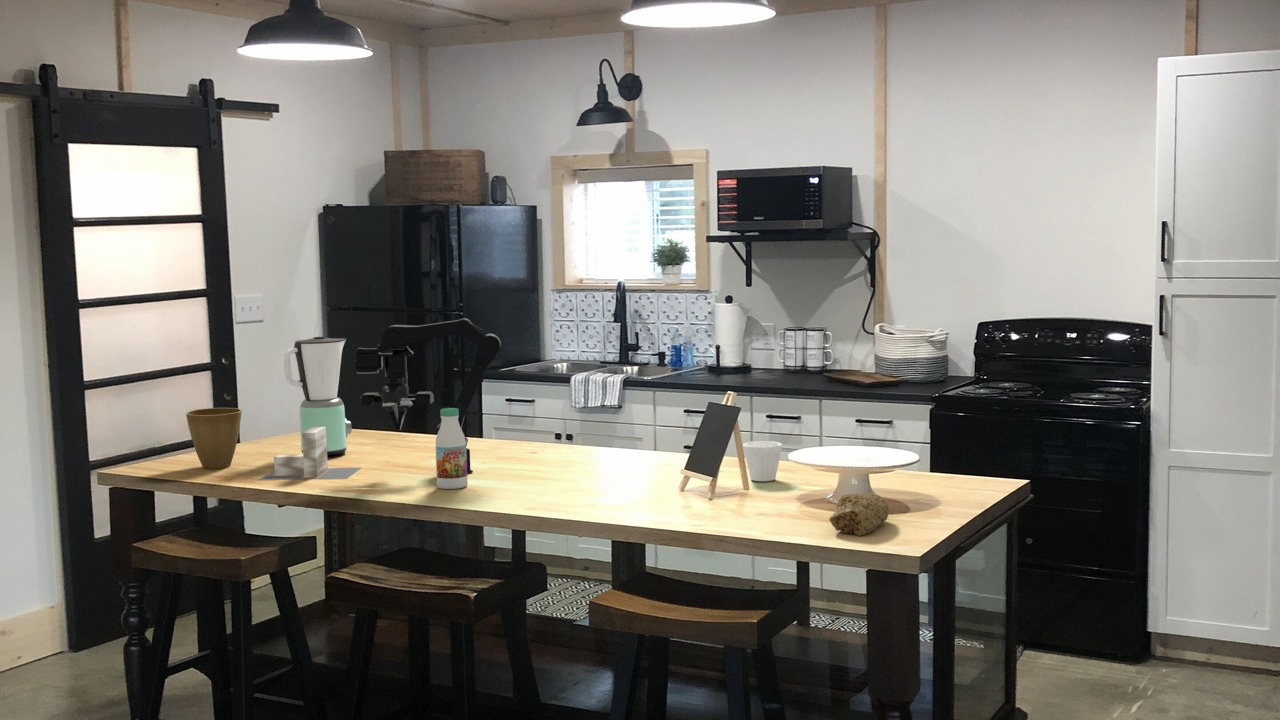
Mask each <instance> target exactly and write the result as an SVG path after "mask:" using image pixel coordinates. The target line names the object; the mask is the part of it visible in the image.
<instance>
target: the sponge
mask: <svg viewBox="0 0 1280 720" xmlns="http://www.w3.org/2000/svg"><path fill="white" fill-rule="evenodd" d="M888 505H889V504H888V502H887V501H886V499H885V498H884V497H882V496H881V495H879V494H875V493H873V492H872V493H871V492H862V493H859V492H858V493H849V494H848V493H847V494H844V495H841V497H840V498H839V500H838V501H837V505H836V511H835V512H834V513H833V514H832V515H831V516H830V517H829V522H830V523H831V525H832V526H833V528H834V529H835V531H840V532H841V533H844V534H854V535H856V536H857V537H858V536H859V537H860V536H865V535H867V534H869V533H870V532H873V531H874V530H876V528H878V526H880V525H881V524H883V522H885V521H887V520H888V517H889V513H890V511H889V510H890V509H889V506H888Z"/></svg>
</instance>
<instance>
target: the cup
mask: <svg viewBox="0 0 1280 720" xmlns="http://www.w3.org/2000/svg"><path fill="white" fill-rule="evenodd" d="M742 449H743V453H744V457H745V460H746V464H747V469H748V472H749V473H748V474H749V478H750V481H752V482H755V483H771V482H774V481H775V480H776V478H777V473H778V468H779V463H780V459H781V454H782V450H783V444H782V442H778V441H774V440H755V441H753V440H752V441H747V442H744V443H743V444H742Z"/></svg>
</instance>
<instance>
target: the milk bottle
mask: <svg viewBox="0 0 1280 720" xmlns="http://www.w3.org/2000/svg"><path fill="white" fill-rule="evenodd" d="M439 410H440V411H439V412H440V418H441V419H440V423H441V426H440V429H439V430H438V431H439V432H438V431H437V433H436V434H437V435H436V438H435V468H436V469H435V470H436V486H437V488H438V489H442V490H458V489H463V488H466V487H467V486H468V484H469V483H468V473H467V455H466V448H467V446H466V441H465V437H466V436H465V433H464V432H463V430H462V428H460V425H459V422H458V417H459V410H458V409H457V408H454V407H446V408H441V409H439ZM441 420H442V421H441Z"/></svg>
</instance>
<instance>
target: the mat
mask: <svg viewBox="0 0 1280 720" xmlns="http://www.w3.org/2000/svg"><path fill="white" fill-rule="evenodd" d="M361 469H362V467H328V470H327V471H326V472H324V473H323V474H321V475H320V476H318V477H304V475H279V476H275V469H274V470H272V471H270V472H269V473H267V474H266V475H264V476H261V477H260V478H258V479H257V481H292V480H293V481H299V480H301V481H302V480H304V481H305V480H347V479H349V478H350V477H351V476H353V475H354V474H356V473H357V472H358V471H359V470H361Z"/></svg>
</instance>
